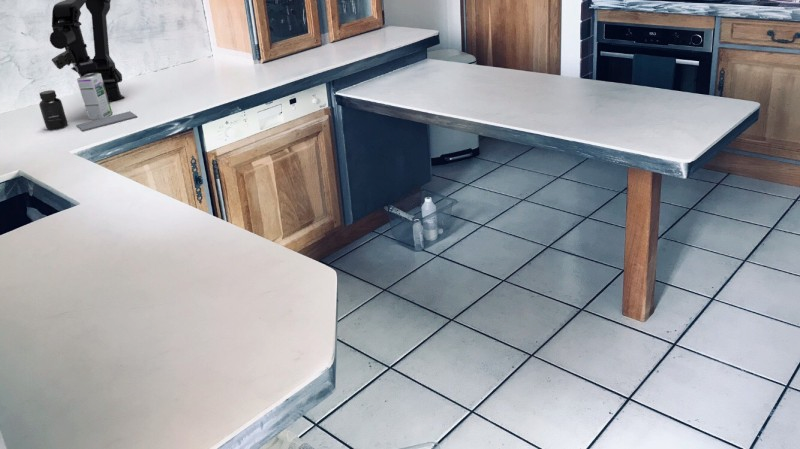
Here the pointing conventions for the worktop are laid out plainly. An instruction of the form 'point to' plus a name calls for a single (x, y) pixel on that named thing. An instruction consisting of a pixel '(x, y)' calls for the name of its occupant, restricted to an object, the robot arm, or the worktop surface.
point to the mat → (106, 121)
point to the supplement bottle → (52, 111)
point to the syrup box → (94, 96)
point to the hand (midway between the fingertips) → (88, 87)
